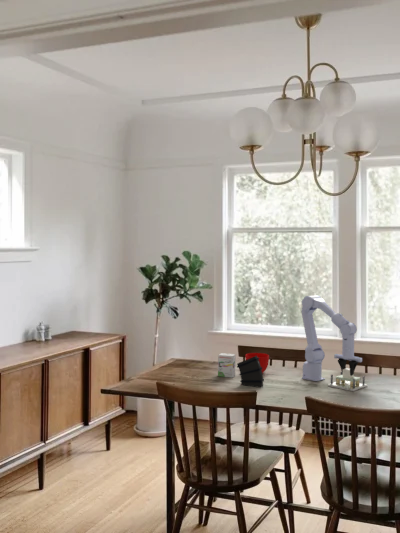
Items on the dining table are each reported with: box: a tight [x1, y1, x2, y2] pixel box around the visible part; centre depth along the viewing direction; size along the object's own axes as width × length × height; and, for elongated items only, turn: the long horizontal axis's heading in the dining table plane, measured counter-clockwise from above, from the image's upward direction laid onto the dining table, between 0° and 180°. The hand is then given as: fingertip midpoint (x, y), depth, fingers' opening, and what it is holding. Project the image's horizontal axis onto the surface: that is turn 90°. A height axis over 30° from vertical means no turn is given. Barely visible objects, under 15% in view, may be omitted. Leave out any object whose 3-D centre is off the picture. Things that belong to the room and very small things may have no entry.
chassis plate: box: [327, 371, 368, 392], centre depth 286 cm, size 14×14×6 cm
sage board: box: [335, 367, 361, 382], centre depth 286 cm, size 10×7×5 cm
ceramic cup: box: [245, 352, 270, 374], centre depth 316 cm, size 13×17×10 cm
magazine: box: [236, 356, 265, 388], centre depth 285 cm, size 4×13×15 cm, turn 62°
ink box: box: [217, 352, 236, 379], centre depth 306 cm, size 8×5×12 cm, turn 69°
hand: (347, 374), depth 286 cm, fingers closed on sage board, 4 cm apart
